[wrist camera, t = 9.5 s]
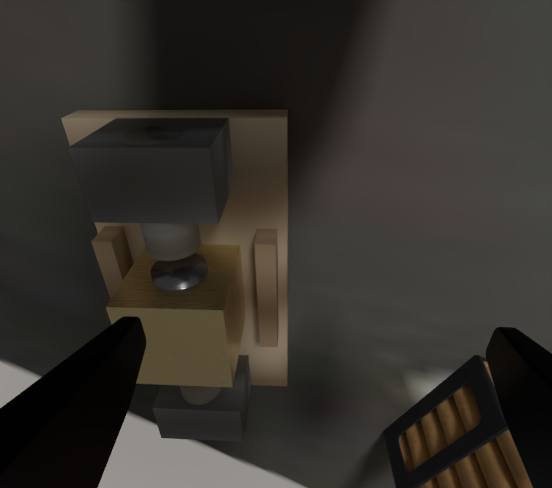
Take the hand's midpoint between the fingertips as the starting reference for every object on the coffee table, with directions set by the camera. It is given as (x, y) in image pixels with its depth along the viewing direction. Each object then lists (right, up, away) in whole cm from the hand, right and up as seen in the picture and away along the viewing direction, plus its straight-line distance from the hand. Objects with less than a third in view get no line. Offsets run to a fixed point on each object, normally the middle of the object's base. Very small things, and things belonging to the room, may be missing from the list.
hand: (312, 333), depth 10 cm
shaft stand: (-5, +1, +13) cm, 14 cm away
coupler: (-5, 0, +12) cm, 13 cm away
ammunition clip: (+11, -9, +19) cm, 23 cm away
